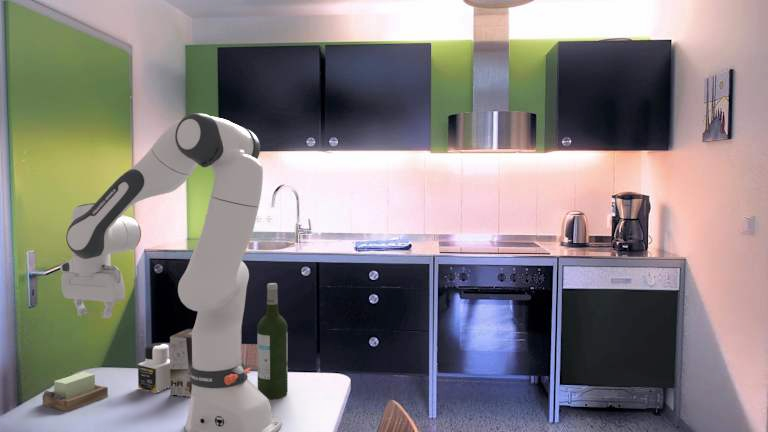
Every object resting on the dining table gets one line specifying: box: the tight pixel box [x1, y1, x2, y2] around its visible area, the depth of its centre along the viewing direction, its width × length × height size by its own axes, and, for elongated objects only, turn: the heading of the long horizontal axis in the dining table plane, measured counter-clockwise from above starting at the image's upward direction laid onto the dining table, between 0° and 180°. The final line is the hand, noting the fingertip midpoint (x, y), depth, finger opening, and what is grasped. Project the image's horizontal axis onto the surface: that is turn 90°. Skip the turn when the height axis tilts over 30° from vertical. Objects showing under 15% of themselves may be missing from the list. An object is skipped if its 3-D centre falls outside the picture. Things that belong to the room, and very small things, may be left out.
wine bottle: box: [256, 282, 289, 400], centre depth 147 cm, size 8×8×30 cm
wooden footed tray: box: [42, 384, 109, 412], centre depth 142 cm, size 10×12×4 cm
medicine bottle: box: [137, 342, 170, 393], centre depth 152 cm, size 7×7×12 cm
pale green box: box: [53, 371, 96, 400], centre depth 142 cm, size 4×8×5 cm, turn 154°
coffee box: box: [169, 328, 193, 398], centre depth 149 cm, size 9×6×16 cm
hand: (94, 316), depth 145 cm, fingers open, 8 cm apart
